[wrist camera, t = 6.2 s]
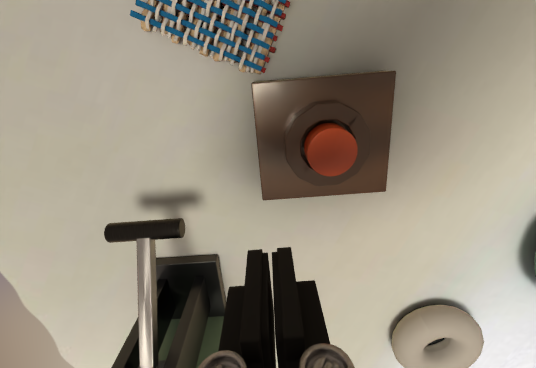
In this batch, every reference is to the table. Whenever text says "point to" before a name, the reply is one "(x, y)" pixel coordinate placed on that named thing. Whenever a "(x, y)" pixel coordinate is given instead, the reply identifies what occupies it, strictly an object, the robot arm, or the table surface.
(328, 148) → the button
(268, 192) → the control block
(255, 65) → the woven mat
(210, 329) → the toaster
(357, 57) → the table surface
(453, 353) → the donut
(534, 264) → the saucer
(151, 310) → the lever
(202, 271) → the bracket
